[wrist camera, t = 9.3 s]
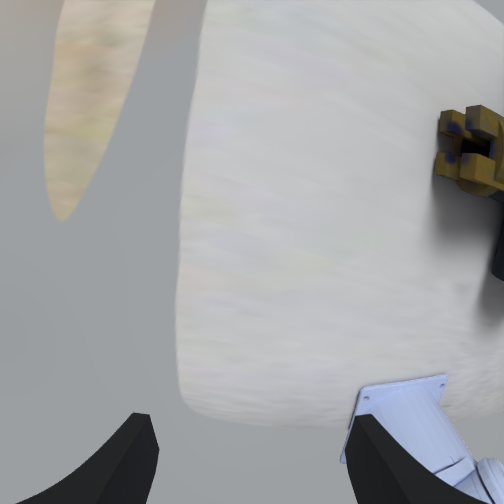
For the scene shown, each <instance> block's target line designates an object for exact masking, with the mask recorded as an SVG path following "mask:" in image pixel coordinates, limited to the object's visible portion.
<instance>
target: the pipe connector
mask: <svg viewBox="0 0 504 504" xmlns="http://www.w3.org/2000/svg"><path fill="white" fill-rule="evenodd" d="M439 132H441V133H444V134H446V135H449V136H451V137H454V141H453V151H452V154H451V153H437V156H436V163H435V171H434V174H437V175H440V176H443V177H447V178H450V179H453V180H455V181H456V183H457V185H458V186H459V187H460V188H461V189H462V190H464V191H465V192H468V193H471V194H474V195H477V196H483V197H485V196H488V197H490V198H493V199H496V200H499V201H501V202H504V117H502V116H500V115H499V114H497V113H495V112H493V111H492V110H490V109H488V108H486V107H484V106H482V105H476V106H470V107H466V114H465V115H464V114H462V113H460V112H457V111H455V110H447V111H442V112H441V115H440V128H439ZM492 274H493V275H494V276H495V277H497V278H498V279H500V280H502V281H504V223H503V228H502V232H501V237H500V241H499V246H498V250H497V254H496V257H495V261H494V265H493V268H492Z"/></svg>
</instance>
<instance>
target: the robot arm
mask: <svg viewBox="0 0 504 504" xmlns="http://www.w3.org/2000/svg"><path fill="white" fill-rule="evenodd" d="M447 382H448V376H447V375H446V374H442V375H437V376H432V377H426V378H420V379H414V380H408V381H402V382H395V383H388V384H380V385H372V386H365V387H363V388H362V389H361V390H360V393H359V397H358V401H357V404H356V408H355V411H354V415H353V418H352V422H351V425H350V429H349V432H348V435H347V438H346V442H345V445H344V448H343V451H342V454H341V457H340V462H341V463H344V464H345V463H347V468H348V474H349V477H350V480H351V484H352V487H353V490H354V493H355V496H356V500H357V502H358V504H504V466H503V465H502V464H501V463H500V461H499V460H497V459H496V458H483V459H482V460H481V461H479V462H477V461H475V459H474V457H473V456H472V454H471V453H470V451H469V449H468V448H467V446H466V445H465V443H464V442H463V440H462V438H461V437H460V435H459V434H458V432H457V430H456V429H455V427H454V426H453V424H452V423H451V421H450V420H449V418H448V417H447V415H446V414H445V412H444V411H443V409H442V408H441V406H440V405H439V401H440V399H441V396H442V394H443V392H444V389H445V387H446V384H447ZM366 396H367V397H366ZM364 397H366V398H364ZM158 454H159V447H158V443H157V440H156V437H155V433H154V429H153V426H152V422H151V419H150V415H148V414H140V413H133V414H131V415H130V416H129V418H128V419H127V420H126V421H125V422H124V423H123V424H122V425H121V427H120V428H119V429H118V430H117V431H116V432H115V433H114V434H113V435H112V436H111V437H110V439H109V440H107V442H106V443H104V445H103V446H102V447H101V448H100V449H99V450H98V451H96V452H95V453H94V454H93V455H92V456H91V457H90V458H89V459H88V460H87V461H85V462H84V463H83V464H82V465H81V466H80V467H78V468H77V469H76V470H75V471H74V472H72V473H71V474H69V475H68V476H67V477H65V478H64V479H63V480H61V481H59V482H58V483H56V484H55V485H53V486H51V487H50V488H48V489H46V490H45V491H43V492H41V493H39V494H37V495H35V496H33V497H30V498H28V499H26V500H24V501H22V502H19V503H17V504H146V501H147V498H148V495H149V492H150V489H151V485H152V482H153V479H154V475H155V472H156V466H157V460H158Z"/></svg>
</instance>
